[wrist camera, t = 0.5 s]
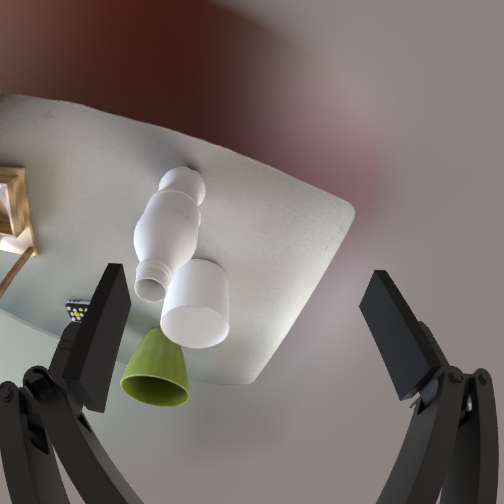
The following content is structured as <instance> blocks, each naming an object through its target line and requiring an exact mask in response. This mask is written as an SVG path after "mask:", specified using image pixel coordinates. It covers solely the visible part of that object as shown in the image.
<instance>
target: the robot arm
mask: <svg viewBox="0 0 504 504" xmlns="http://www.w3.org/2000/svg"><path fill="white" fill-rule="evenodd" d="M359 307H360V310H361V312H362V314H363V316H364V318H365V320H366V322H367V324H368V327H369V329H370V331H371V333H372V335H373V338H374V339H375V342H376V344H377V346H378V349H379V351H380V353H381V356H382V358H383V360H384V363H385V365H386V367H387V370H388V372H389V374H390V377H391V379H392V382H393V384H394V386H395V389H396V392H397V394H398V396H399V399H400V401H402V400H406V399H409V398H412V397H413V396H414V395H415V394H416V393H417V392H418V391H419V393H420V397H419V398H417V400H415V401H414V402H413V403H412V404H411V406H410V408H412V407H413V406H414V405H415V404H416V406H415V408H414V413H413V416H412V419H411V422H410V425H409V428H408V431H407V434H406V436H405V439H404V442H403V445H402V447H401V450H400V452H399V455H398V457H397V460H396V462H395V464H394V467H393V469H392V471H391V474H390V476H389V478H388V480H387V482H386V485H385V486H384V488H383V490H382V493H381V494H380V496H379V498H378V500H377V502H376V504H436V501H437V499H438V496H439V493H440V490H441V488H442V491H441V498H440V504H496V498H497V487H498V466H499V465H498V464H499V450H498V448H499V447H498V427H497V416H496V405H495V398H494V391H493V385H492V379H491V376H490V374H489V373H488V372H487V371H486V370H485V369H482V368H479V369H477V370H476V371H475V372H474V373H473V374H463V373H462V371H461V370H460V369H459V368H457V367H455V366H450V365H449V363H448V361H447V359H446V358H445V356H444V354H443V352H442V351H441V349H440V347H439V345H438V344H437V342H436V340H435V338H434V337H433V335H432V333H431V331H430V329H429V328H428V327H427V326H426V325H425V324H424V323H423V322H422V321H419V322H418V321H417V319H416V317H415V316H414V314H413V312H412V311H411V309H410V307H409V306H408V304H407V302H406V301H405V299H404V298H403V296H402V295H401V293H400V291H399V290H398V288H397V287H396V285H395V284H394V282H393V281H392V279H391V278H390V276H389V275H388V273H387V272H386V271H385V270H375V271H374V273H373V275H372V278H371V280H370V282H369V285H368V287H367V289H366V292H365V294H364V296H363V299H362V301H361V303H360V305H359ZM130 308H131V300H130V296H129V291H128V287H127V283H126V278H125V274H124V269H123V264H116V263H108V265H107V267H106V269H105V271H104V274H103V276H102V278H101V280H100V282H99V284H98V286H97V288H96V290H95V293H94V295H93V297H92V299H91V301H90V304H89V306H88V308H87V311H86V313H85V315H84V318H83V320H82V322H81V323H79V322H71V323H70V324H69V325H68V326H67V327H66V328H65V329H64V331H63V334H62V336H61V340H60V341H59V344H58V346H57V348H56V351H55V354H54V356H53V359H52V361H51V364H50V367H49V369H48V370H47V369H46V368H45V367H43V366H34V367H31V368H30V369H28V370H27V372H26V373H25V374H24V378H23V387H19V388H18V387H17V386H16V385H15V384H14V383H13V382H11V381H5V382H3V383H1V384H0V451H1V457H2V463H3V468H4V472H5V477H6V482H7V486H8V490H9V494H10V498H11V501H12V504H70V502H69V500H68V497H67V494H66V491H65V488H64V485H63V482H62V479H61V476H60V472H59V469H58V465H57V462H56V459H55V454H54V451H53V447H54V449H55V451H56V453H57V455H58V457H59V459H60V461H61V463H62V465H63V467H64V468H65V470H66V472H67V474H68V475H69V477H70V479H71V481H72V483H73V484H74V486H75V488H76V489H77V491H78V492H79V494H80V496H81V497H82V499H83V500H84V501H85V503H86V504H144V503H143V502H142V501H141V499H140V498H139V497H138V496H137V494H136V493H135V492H134V491H133V490H132V488H131V487H130V486H129V484H128V483H127V482H126V480H125V479H124V478H123V476H122V475H121V473H120V472H119V471H118V469H117V468H116V466H115V465H114V463H113V462H112V461H111V459H110V458H109V456H108V454H107V453H106V451H105V450H104V448H103V447H102V445H101V444H100V442H99V440H98V438H97V437H96V435H95V433H94V432H93V430H92V428H91V426H90V425H89V423H88V421H87V419H86V417H85V415H84V414H83V412H82V408H83V404H84V406H85V407H86V408H87V409H88V410H91V411H96V412H101V413H104V411H105V405H106V401H107V396H108V391H109V386H110V382H111V378H112V373H113V369H114V365H115V361H116V357H117V353H118V349H119V346H120V342H121V338H122V335H123V331H124V328H125V324H126V321H127V317H128V314H129V311H130ZM471 404H472V410H471V411H469V406H470V405H471ZM52 445H53V446H52Z"/></svg>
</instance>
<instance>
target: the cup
mask: <svg viewBox="0 0 504 504" xmlns="http://www.w3.org/2000/svg"><path fill="white" fill-rule="evenodd" d="M173 275H174V276H173V281H172V283H171V284H170V286H169V287H168V292H167V295H166V297H165V300H164V305H163V310H162V315H161V322H160V325H161V329H162V331H163V333H164V334H165V335H166V336H167V337H168V338H169V339H170V340H171V341H173V342H175V343H177V344H178V345H181V346H184V347H189V348H207V347H212V346H214V345H217V344H218V343H220V342H222V341H223V340H224V339H225V338H226V336H227V335H228V333H229V301H228V279H227V276H226V274H225V272H224V271H223V270H222V269H221V267H219V266H218V265H216V264H215V263H213V262H211V261H208V260H204V259H190V260H189V261H188V262H187V263H186V264H185V265H184V266H183V267H181V268H180V269H178V270H177V271H175V272H173Z"/></svg>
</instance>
